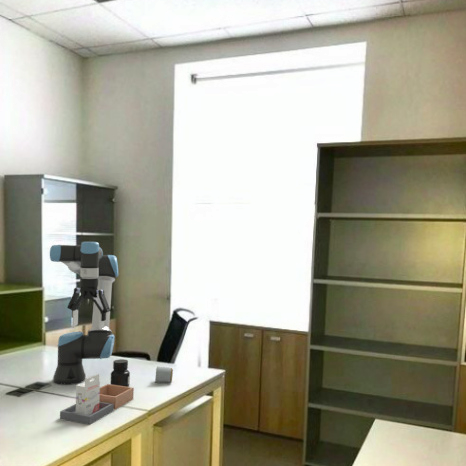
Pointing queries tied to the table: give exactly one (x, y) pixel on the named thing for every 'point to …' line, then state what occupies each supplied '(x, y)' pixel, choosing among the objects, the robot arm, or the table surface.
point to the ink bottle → (120, 373)
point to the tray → (86, 419)
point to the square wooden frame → (116, 395)
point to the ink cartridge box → (88, 396)
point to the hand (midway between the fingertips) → (88, 326)
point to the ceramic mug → (164, 374)
